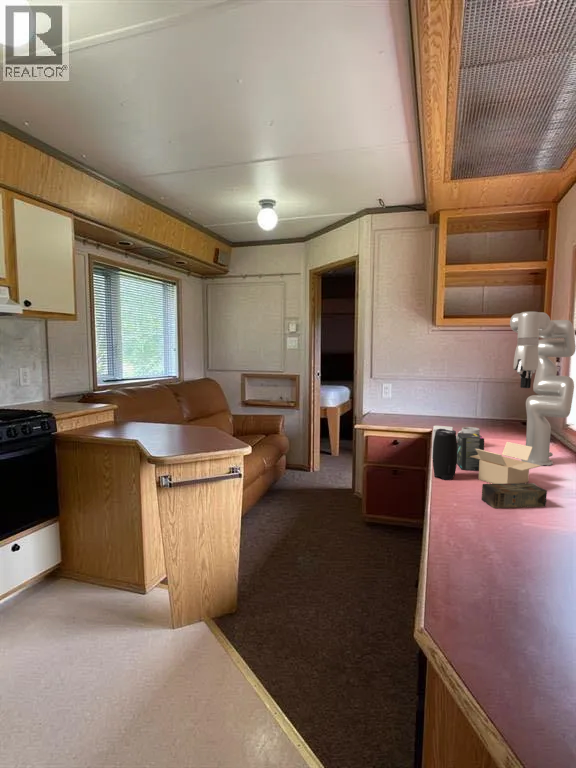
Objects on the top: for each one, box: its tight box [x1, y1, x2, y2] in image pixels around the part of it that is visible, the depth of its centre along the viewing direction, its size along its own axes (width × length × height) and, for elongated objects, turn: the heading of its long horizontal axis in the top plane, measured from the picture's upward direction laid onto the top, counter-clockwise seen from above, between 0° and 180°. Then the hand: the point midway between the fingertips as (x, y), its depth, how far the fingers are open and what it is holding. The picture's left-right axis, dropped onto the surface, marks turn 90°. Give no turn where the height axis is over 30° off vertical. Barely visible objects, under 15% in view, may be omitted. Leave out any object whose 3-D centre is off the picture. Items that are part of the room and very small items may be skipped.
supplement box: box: [431, 425, 454, 460], centre depth 197 cm, size 9×9×15 cm
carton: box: [470, 455, 542, 484], centre depth 162 cm, size 14×22×8 cm, turn 30°
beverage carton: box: [481, 482, 548, 509], centre depth 139 cm, size 8×19×7 cm, turn 95°
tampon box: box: [456, 432, 485, 472], centre depth 181 cm, size 11×9×15 cm
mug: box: [456, 426, 481, 438], centre depth 220 cm, size 11×10×10 cm
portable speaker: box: [432, 429, 458, 481], centre depth 167 cm, size 9×9×20 cm
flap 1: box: [476, 449, 507, 466], centre depth 157 cm, size 6×11×1 cm
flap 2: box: [501, 441, 533, 461], centre depth 166 cm, size 6×11×1 cm
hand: (525, 387), depth 165 cm, fingers closed
